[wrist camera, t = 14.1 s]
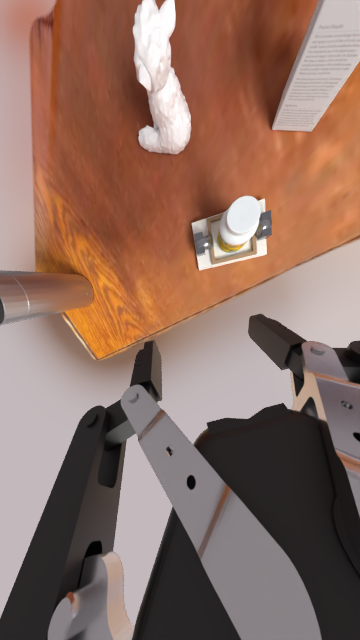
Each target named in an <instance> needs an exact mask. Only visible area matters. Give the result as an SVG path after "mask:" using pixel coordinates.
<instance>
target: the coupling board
mask: <svg viewBox="0 0 360 640" xmlns="http://www.w3.org/2000/svg"><path fill="white" fill-rule="evenodd" d="M258 202H259V204H260V208H261V213H263V212H265V199H262V200H259V201H258ZM224 213H225V212H223V213H220V214H217V215H214V216H211V217H208V218H205V219H202V220H199V221H196V222H194V223H192V229H193V235H194V234H196V233H199V232H202V233H203V236H206V235H210V234H212V236H213V243H214V248H212V249H208V250H205V254H206V255H202V256H197V260H198V266H199V270H203V269H208V268H212V267H216V266H220V265H225V264H229V263H233V262H237V261H242V260H246V259H250V258H254V257H258V256H263V255H266V254H267V248H266V239H262V240H259V241H258V236H255V233H254V235H253V236H252V237H251V238H250V239H249V240H248V242H247V243H246V244H245V245H244V246H243V247H242V248H241V249H239V250H238V251H236V252H233V253H226V252H224V251H222V250H221V249H220V248H219V246H218V241H217V238H218V232H219V226H220V221H221V218H222V216H223V214H224ZM194 241H195V239H194ZM195 248H196V245H195ZM196 254H197V251H196Z"/></svg>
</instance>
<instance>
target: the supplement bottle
mask: <svg viewBox="0 0 360 640" xmlns="http://www.w3.org/2000/svg"><path fill="white" fill-rule="evenodd" d="M260 214H261V208H260V204H259V202H258V201H257V199H255V198H254V197H252V196H243V197H240V198H238V199H237V200H235V201H234V202H233V203H232V205H231V206H230V207H229V208H228V209H227V210H226V211H225V213H224V214H223V216H222V218H221V221H220V226H219V232H218V238H217V241H218V246H219V248H220V249H221V250H222V251H224V252H226V253H233V252H236V251H238V250H239V249H241V248H242V247H243V246H244V245H245V244H246V243H247V242H248V240H249V239H250V238H251V237H252V236H253V235H254V233H255V232H256V230H257V227H258V224H259V218H260Z"/></svg>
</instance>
